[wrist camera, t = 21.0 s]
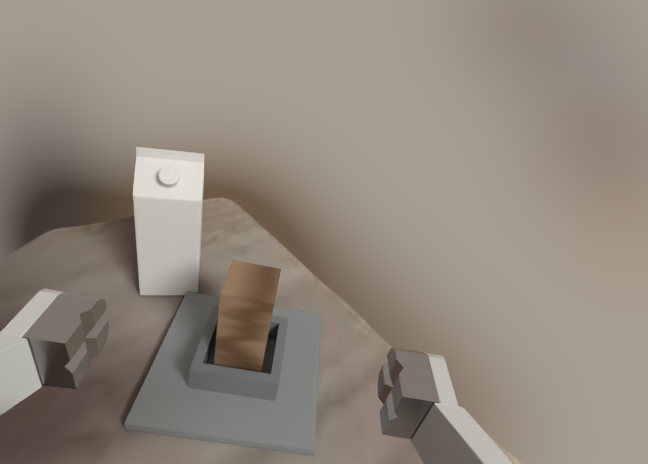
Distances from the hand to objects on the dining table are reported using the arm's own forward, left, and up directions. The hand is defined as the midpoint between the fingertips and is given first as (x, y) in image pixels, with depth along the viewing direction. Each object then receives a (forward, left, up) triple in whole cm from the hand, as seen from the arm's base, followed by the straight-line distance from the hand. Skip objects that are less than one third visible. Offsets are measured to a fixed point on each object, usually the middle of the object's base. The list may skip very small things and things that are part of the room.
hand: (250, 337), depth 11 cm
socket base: (-2, +21, -30) cm, 37 cm away
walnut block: (-2, +21, -29) cm, 36 cm away
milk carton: (-14, +33, -30) cm, 47 cm away
